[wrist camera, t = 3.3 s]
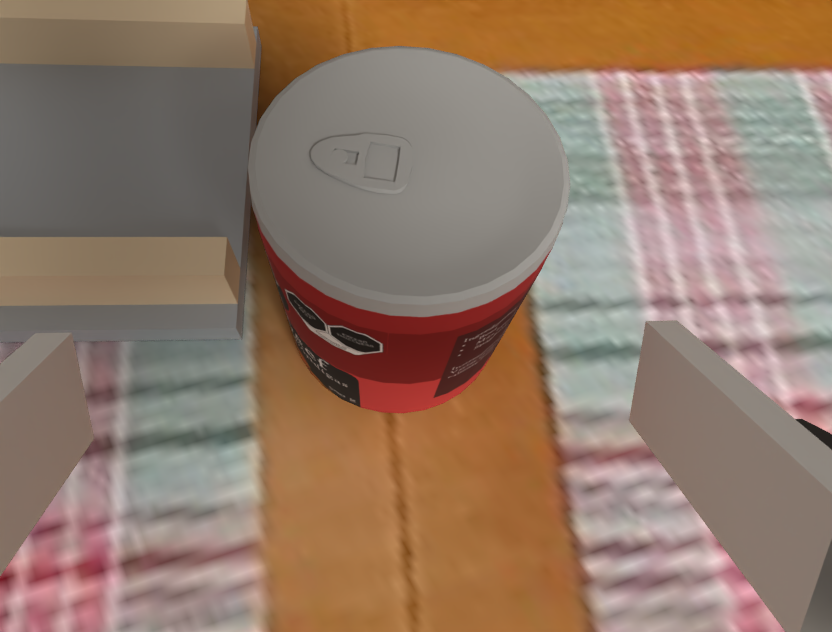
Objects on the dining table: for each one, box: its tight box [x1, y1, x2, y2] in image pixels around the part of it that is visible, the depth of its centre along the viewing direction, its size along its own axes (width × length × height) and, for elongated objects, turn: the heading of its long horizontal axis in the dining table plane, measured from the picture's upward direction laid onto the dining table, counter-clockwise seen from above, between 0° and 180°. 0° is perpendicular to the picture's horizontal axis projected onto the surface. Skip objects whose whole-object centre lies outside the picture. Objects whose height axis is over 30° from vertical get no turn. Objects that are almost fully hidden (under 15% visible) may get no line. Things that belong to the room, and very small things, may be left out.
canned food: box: [248, 46, 570, 413], centre depth 20 cm, size 8×8×11 cm
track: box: [0, 0, 262, 343], centre depth 25 cm, size 18×15×4 cm
